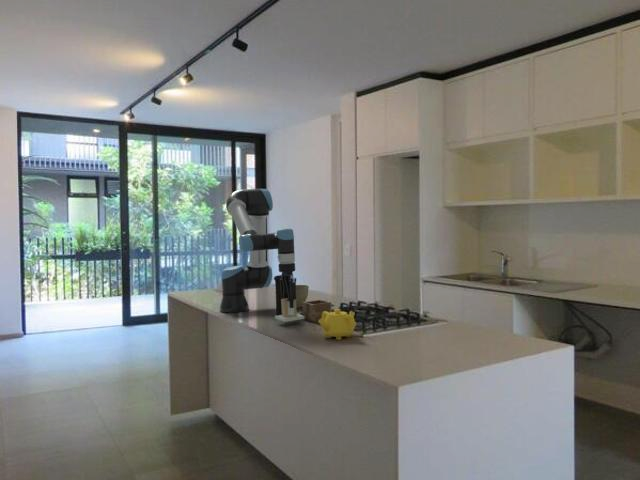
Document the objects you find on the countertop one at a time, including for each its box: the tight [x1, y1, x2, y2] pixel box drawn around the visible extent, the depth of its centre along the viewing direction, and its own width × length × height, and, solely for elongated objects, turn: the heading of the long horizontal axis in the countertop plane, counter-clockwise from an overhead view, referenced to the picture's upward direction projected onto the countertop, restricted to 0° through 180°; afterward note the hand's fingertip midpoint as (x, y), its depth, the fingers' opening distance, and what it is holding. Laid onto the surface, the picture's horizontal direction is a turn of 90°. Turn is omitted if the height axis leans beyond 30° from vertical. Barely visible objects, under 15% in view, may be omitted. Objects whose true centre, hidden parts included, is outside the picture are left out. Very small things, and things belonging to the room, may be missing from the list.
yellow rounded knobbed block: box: [318, 308, 357, 341], centre depth 212 cm, size 20×18×11 cm
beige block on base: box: [274, 298, 305, 323], centre depth 241 cm, size 10×10×9 cm
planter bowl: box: [296, 284, 309, 309], centre depth 286 cm, size 16×16×11 cm
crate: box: [302, 299, 333, 323], centre depth 249 cm, size 10×10×8 cm
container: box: [273, 274, 283, 316], centre depth 264 cm, size 9×9×20 cm
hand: (289, 314), depth 241 cm, fingers closed on beige block on base, 3 cm apart
